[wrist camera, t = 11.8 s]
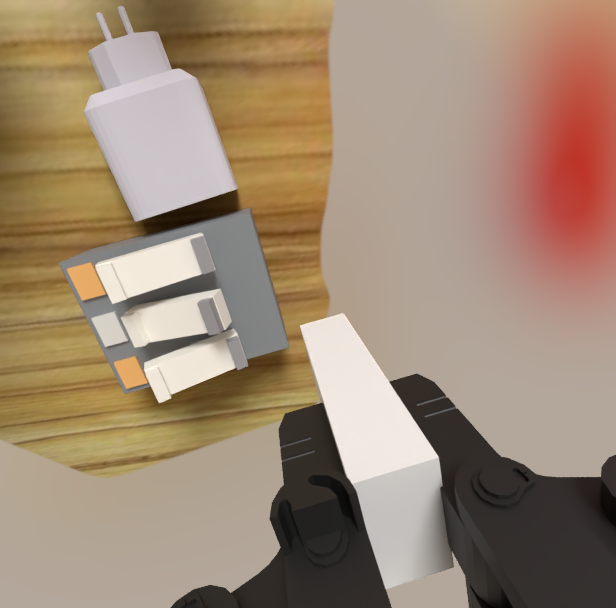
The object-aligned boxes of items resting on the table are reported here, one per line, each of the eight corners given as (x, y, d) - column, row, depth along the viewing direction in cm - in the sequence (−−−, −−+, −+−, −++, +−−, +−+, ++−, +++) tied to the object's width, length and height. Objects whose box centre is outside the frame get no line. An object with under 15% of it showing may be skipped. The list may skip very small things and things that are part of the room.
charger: (174, 6, 30) (238, 188, 35) (66, 39, 29) (147, 217, 35) (160, -24, 25) (236, 190, 31) (33, 15, 25) (132, 223, 30)
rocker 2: (149, 335, 32) (134, 348, 30) (135, 304, 31) (119, 316, 29) (231, 321, 30) (222, 334, 28) (220, 288, 29) (209, 299, 27)
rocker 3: (157, 391, 32) (158, 404, 29) (144, 362, 31) (143, 374, 28) (243, 356, 34) (249, 366, 32) (233, 328, 33) (239, 336, 31)
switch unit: (140, 363, 39) (118, 399, 33) (87, 250, 35) (49, 266, 28) (284, 323, 40) (289, 351, 34) (250, 207, 36) (249, 213, 29)
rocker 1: (114, 298, 28) (111, 305, 26) (97, 262, 27) (93, 267, 25) (212, 266, 31) (217, 271, 29) (200, 232, 30) (204, 234, 28)
